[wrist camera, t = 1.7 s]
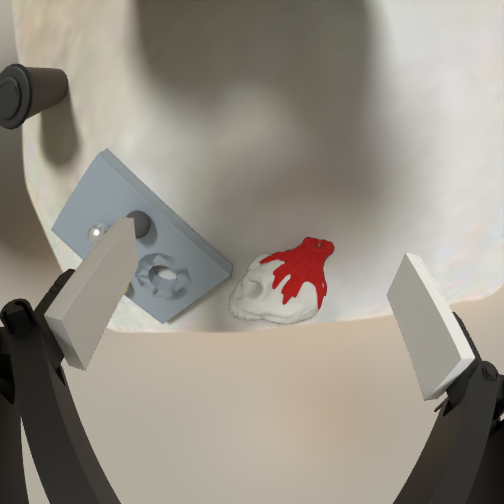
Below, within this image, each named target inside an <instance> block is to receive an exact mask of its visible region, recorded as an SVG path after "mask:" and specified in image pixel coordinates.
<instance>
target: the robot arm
mask: <svg viewBox="0 0 504 504" xmlns="http://www.w3.org/2000/svg"><path fill="white" fill-rule="evenodd" d="M138 266H139V264H138V256H137V247H136V238H135V227H134V218H127V217H119V218H118V219H117V220H116V221H115V222H114V223H113V225H112V226H111V227H110V228H109V229H108V231H107V232H106V233H105V234H104V235H103V237H102V238H101V239H100V240H99V241H98V243H97V244H96V245H95V246H94V248H93V249H92V250H91V251H90V253H89V254H88V255H87V256H86V258H85V259H84V260H83V261H82V263H81V264H80V265H79V267H78V268H77V269H76V270H74V269H68V270H67V271H66V272H64V273H63V274H61V275H60V276H59V277H58V279H57V280H56V281H55V283H54V285H53V286H52V287H51V288H50V289H49V292H48V293H46V295H45V296H44V298H43V299H42V300H41V302H40V303H39V304H38V306H37V307H36V309H35V310H34V311H33V309H32V307H31V305H30V303H29V302H28V301H27V300H26V299H15V300H12V301H10V302H8V303H7V304H6V305H5V306H4V307H3V309H2V310H1V312H0V319H1V321H2V323H3V325H4V327H0V504H29V501H28V495H27V489H26V483H25V475H24V467H23V457H22V443H21V417H22V422H23V426H24V430H25V434H26V437H27V441H28V444H29V448H30V451H31V454H32V457H33V460H34V463H35V466H36V469H37V472H38V475H39V477H40V480H41V483H42V485H43V488H44V490H45V493H46V495H47V498H48V500H49V502H50V504H121V503H120V501H119V499H118V498H117V496H116V494H115V492H114V491H113V489H112V487H111V486H110V483H109V482H108V480H107V478H106V476H105V474H104V472H103V470H102V468H101V466H100V464H99V462H98V460H97V458H96V456H95V453H94V451H93V449H92V447H91V445H90V442H89V440H88V438H87V435H86V433H85V430H84V428H83V426H82V423H81V421H80V418H79V415H78V413H77V410H76V407H75V404H74V402H73V399H72V396H71V393H70V390H69V387H68V384H67V380H66V377H65V374H64V370H63V368H62V366H61V362H62V360H63V358H64V357H65V359H66V361H67V363H68V364H69V366H72V367H75V368H78V369H81V370H86V369H87V366H88V364H89V362H90V360H91V358H92V355H93V353H94V351H95V349H96V347H97V345H98V343H99V341H100V338H101V337H102V335H103V333H104V330H105V328H106V326H107V324H108V322H109V321H110V319H111V317H112V315H113V313H114V311H115V309H116V307H117V305H118V303H119V301H120V299H121V297H122V296H123V294H124V292H125V290H126V288H127V286H128V284H129V283H130V281H131V279H132V277H133V275H134V274H135V272H136V270H137V268H138ZM387 298H388V300H389V303H390V305H391V308H392V310H393V313H394V315H395V318H396V320H397V323H398V325H399V328H400V330H401V333H402V336H403V338H404V341H405V344H406V347H407V350H408V352H409V355H410V358H411V361H412V363H413V367H414V370H415V373H416V376H417V379H418V382H419V385H420V388H421V391H422V395H423V398H424V401H425V400H432V399H438V398H439V397H440V396H441V395H442V394H443V393H444V392H445V391H446V392H447V395H448V397H447V398H446V399H445V400H444V401H443V402H442V403H441V404H440V405H439V406H438V407H437V408H436V409H435V410H434V412H437V410H439V409H440V408H441V410H440V412H439V415H438V417H437V420H436V422H435V424H434V427H433V429H432V431H431V434H430V436H429V438H428V440H427V442H426V444H425V447H424V449H423V451H422V453H421V455H420V457H419V459H418V461H417V463H416V465H415V466H414V468H413V470H412V472H411V474H410V476H409V477H408V479H407V481H406V483H405V485H404V487H403V488H402V490H401V492H400V493H399V495H398V496H397V498H396V500H395V501H394V503H393V504H504V419H503V420H502V421H501V420H500V416H501V415H502V414H503V413H504V375H500V374H499V373H498V371H497V369H496V368H495V366H494V365H493V364H491V363H490V362H488V361H482V359H481V357H480V355H479V353H478V351H477V349H476V347H475V345H474V343H473V341H472V339H471V337H469V333H468V331H467V330H466V327H465V326H464V324H463V322H462V320H461V319H460V318H459V317H458V316H457V314H456V313H455V312H452V311H451V309H450V308H449V306H448V304H447V302H446V300H445V299H444V297H443V295H442V293H441V292H440V290H439V288H438V287H437V285H436V283H435V282H434V280H433V278H432V277H431V275H430V273H429V272H428V270H427V269H426V267H425V265H424V264H423V262H422V261H421V259H420V258H419V256H418V255H417V254H410V253H405V255H404V257H403V260H402V262H401V264H400V267H399V269H398V271H397V273H396V275H395V278H394V280H393V282H392V284H391V286H390V288H389V291H388V293H387Z"/></svg>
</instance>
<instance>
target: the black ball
mask: <svg viewBox="0 0 504 504" xmlns="http://www.w3.org/2000/svg"><path fill="white" fill-rule="evenodd" d="M126 217H127V218H134V227H135V238H136V239H138V238H142V237H144V236H146V235H147V234H148V232H149V230H150V227H151V221H150V218H149V216H148V215H147V214H146V213H145V212H143V211H139V210H136V211H132V212H130V213H129V214H128V215H127V216H126Z"/></svg>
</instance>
